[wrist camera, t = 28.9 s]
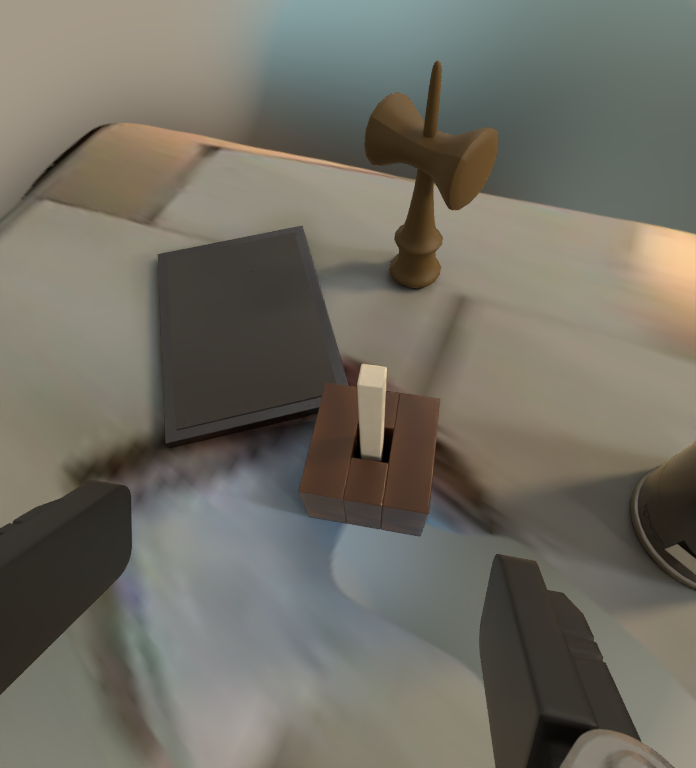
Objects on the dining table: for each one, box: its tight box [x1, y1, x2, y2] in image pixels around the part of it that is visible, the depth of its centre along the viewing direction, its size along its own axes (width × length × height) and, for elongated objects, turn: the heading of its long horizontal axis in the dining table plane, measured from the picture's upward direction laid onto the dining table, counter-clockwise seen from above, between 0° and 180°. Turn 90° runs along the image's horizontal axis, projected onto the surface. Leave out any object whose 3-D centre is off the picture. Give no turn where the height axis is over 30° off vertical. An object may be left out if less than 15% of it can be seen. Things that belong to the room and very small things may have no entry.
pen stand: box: [299, 383, 440, 536], centre depth 35 cm, size 9×9×6 cm
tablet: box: [158, 226, 349, 448], centre depth 46 cm, size 16×23×1 cm
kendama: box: [364, 61, 498, 288], centre depth 40 cm, size 6×10×20 cm, turn 46°
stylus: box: [357, 364, 387, 462], centre depth 31 cm, size 1×1×15 cm
